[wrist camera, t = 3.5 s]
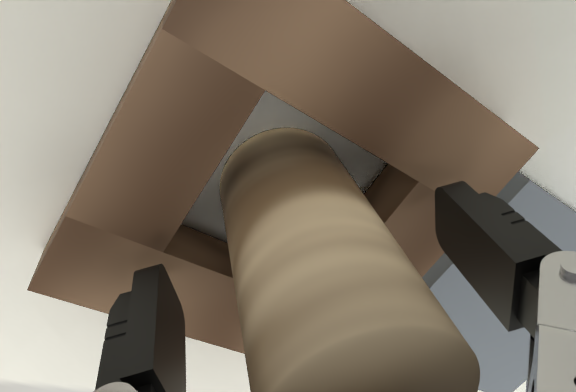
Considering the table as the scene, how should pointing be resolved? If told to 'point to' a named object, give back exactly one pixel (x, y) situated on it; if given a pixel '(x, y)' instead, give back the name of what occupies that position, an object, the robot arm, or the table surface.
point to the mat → (473, 310)
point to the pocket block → (226, 125)
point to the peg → (328, 280)
